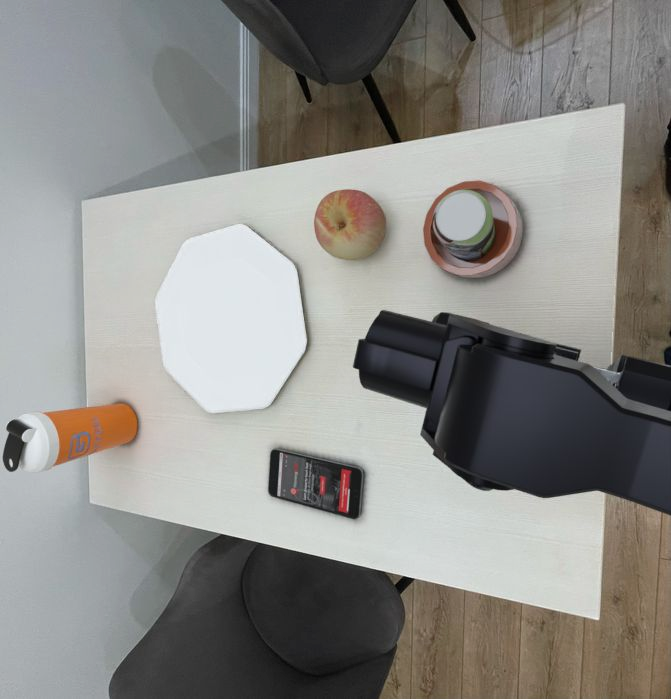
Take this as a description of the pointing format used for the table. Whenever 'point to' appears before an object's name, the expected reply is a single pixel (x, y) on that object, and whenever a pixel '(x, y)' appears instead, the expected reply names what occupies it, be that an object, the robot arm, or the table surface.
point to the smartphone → (316, 483)
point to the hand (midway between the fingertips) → (550, 366)
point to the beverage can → (465, 225)
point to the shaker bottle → (66, 435)
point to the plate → (231, 320)
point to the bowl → (505, 227)
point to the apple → (349, 224)
